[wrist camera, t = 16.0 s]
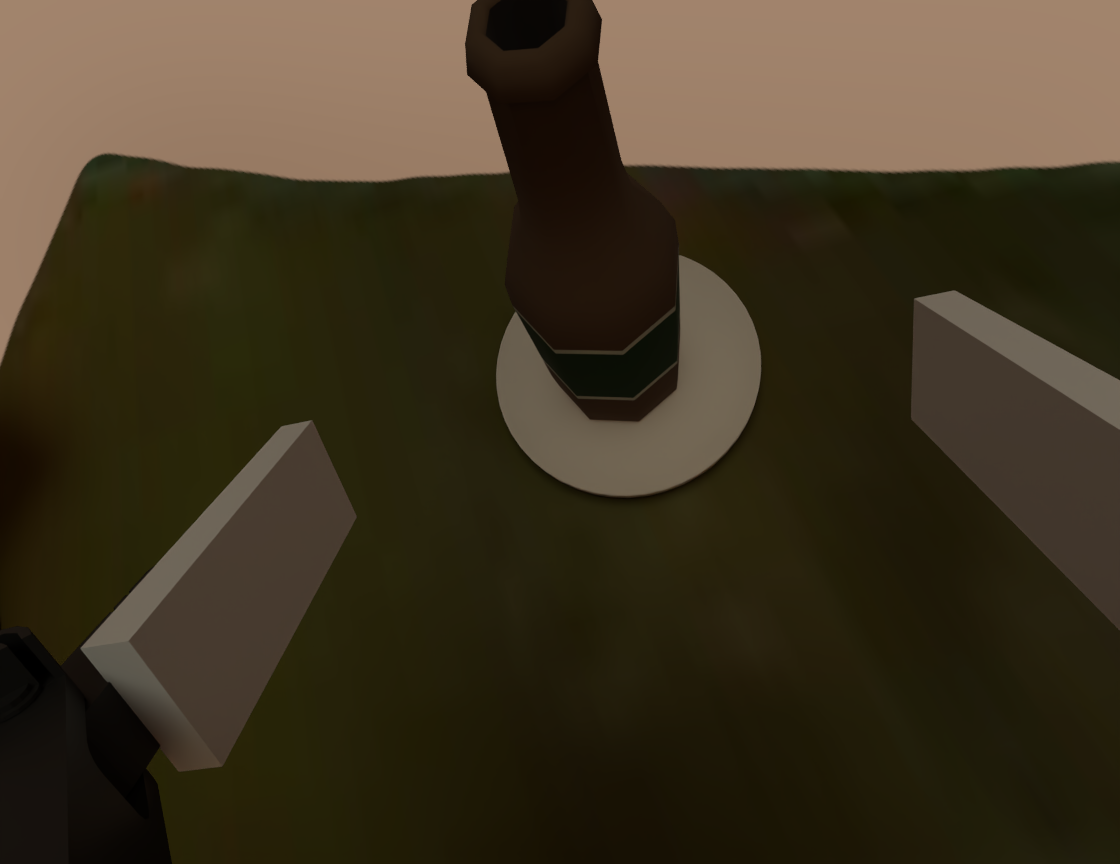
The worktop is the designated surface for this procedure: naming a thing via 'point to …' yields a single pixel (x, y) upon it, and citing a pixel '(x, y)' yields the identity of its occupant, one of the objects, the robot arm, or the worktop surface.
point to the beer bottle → (577, 211)
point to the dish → (664, 433)
